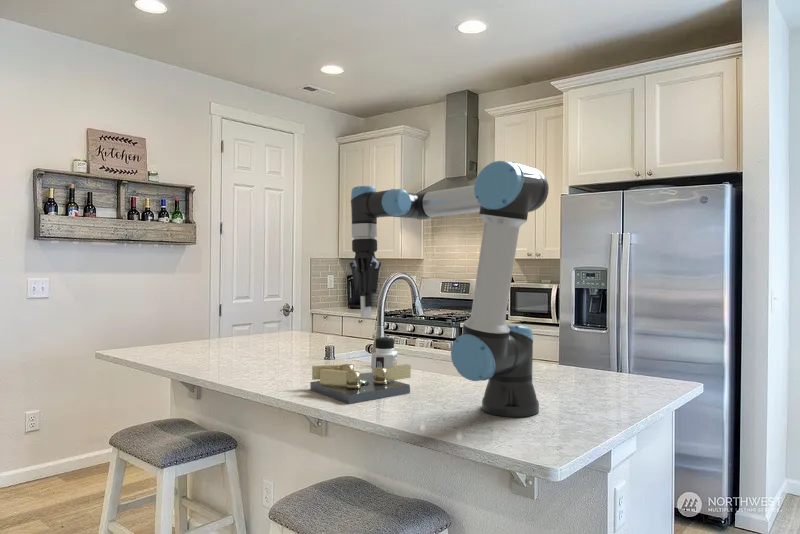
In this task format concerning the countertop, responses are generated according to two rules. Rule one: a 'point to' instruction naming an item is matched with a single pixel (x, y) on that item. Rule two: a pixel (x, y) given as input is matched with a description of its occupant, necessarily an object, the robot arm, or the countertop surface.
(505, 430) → the countertop surface
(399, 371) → the knob
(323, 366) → the brass lever handle
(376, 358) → the container
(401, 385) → the tribrach plate
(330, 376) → the knob
